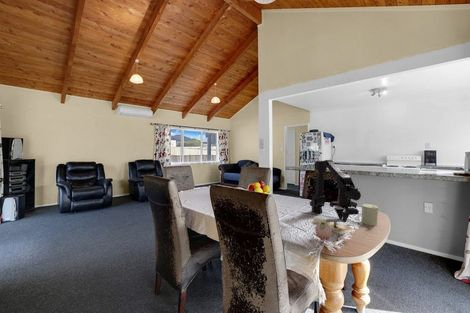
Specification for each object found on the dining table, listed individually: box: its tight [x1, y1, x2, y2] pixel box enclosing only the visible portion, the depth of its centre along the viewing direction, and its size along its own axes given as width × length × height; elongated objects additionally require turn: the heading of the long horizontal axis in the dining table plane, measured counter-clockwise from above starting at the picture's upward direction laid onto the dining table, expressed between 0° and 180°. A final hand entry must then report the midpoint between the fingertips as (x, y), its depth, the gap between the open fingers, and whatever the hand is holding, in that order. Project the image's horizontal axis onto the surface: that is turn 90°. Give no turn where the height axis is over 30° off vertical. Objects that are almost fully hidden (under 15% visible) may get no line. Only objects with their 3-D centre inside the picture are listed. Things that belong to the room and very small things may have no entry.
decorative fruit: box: [314, 222, 333, 241], centre depth 120 cm, size 9×8×10 cm
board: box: [308, 220, 355, 235], centre depth 137 cm, size 22×14×2 cm, turn 36°
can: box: [360, 203, 379, 227], centre depth 145 cm, size 9×9×12 cm
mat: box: [292, 225, 307, 232], centre depth 137 cm, size 10×10×1 cm
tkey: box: [326, 217, 344, 227], centre depth 134 cm, size 11×2×5 cm, turn 95°
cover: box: [313, 215, 330, 224], centre depth 141 cm, size 8×6×3 cm
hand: (342, 221), depth 134 cm, fingers open, 3 cm apart
